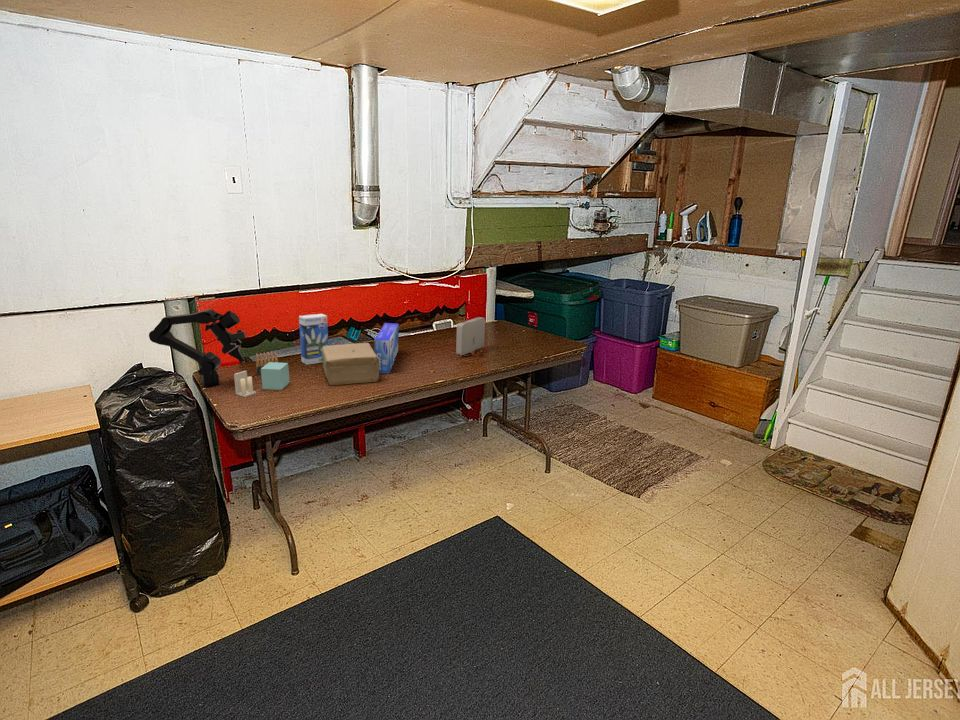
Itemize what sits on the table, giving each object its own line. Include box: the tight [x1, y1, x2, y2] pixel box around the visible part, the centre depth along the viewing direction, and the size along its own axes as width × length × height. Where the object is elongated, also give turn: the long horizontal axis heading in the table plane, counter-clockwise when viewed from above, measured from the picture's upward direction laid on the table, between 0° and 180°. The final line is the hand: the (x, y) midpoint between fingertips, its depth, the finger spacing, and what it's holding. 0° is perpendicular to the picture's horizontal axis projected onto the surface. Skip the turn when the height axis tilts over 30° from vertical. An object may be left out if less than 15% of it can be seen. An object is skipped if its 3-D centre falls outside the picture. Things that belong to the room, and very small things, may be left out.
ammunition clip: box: [255, 350, 279, 376], centre depth 271 cm, size 11×2×12 cm, turn 122°
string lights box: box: [298, 313, 329, 366], centre depth 293 cm, size 13×8×26 cm, turn 129°
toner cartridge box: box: [374, 322, 400, 374], centre depth 297 cm, size 39×8×18 cm, turn 2°
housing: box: [260, 362, 290, 391], centre depth 254 cm, size 9×10×10 cm
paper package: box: [322, 342, 380, 386], centre depth 274 cm, size 27×26×14 cm
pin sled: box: [233, 370, 257, 398], centre depth 243 cm, size 6×6×10 cm
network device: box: [455, 316, 486, 356], centre depth 320 cm, size 26×9×20 cm, turn 148°
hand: (243, 361), depth 253 cm, fingers closed
